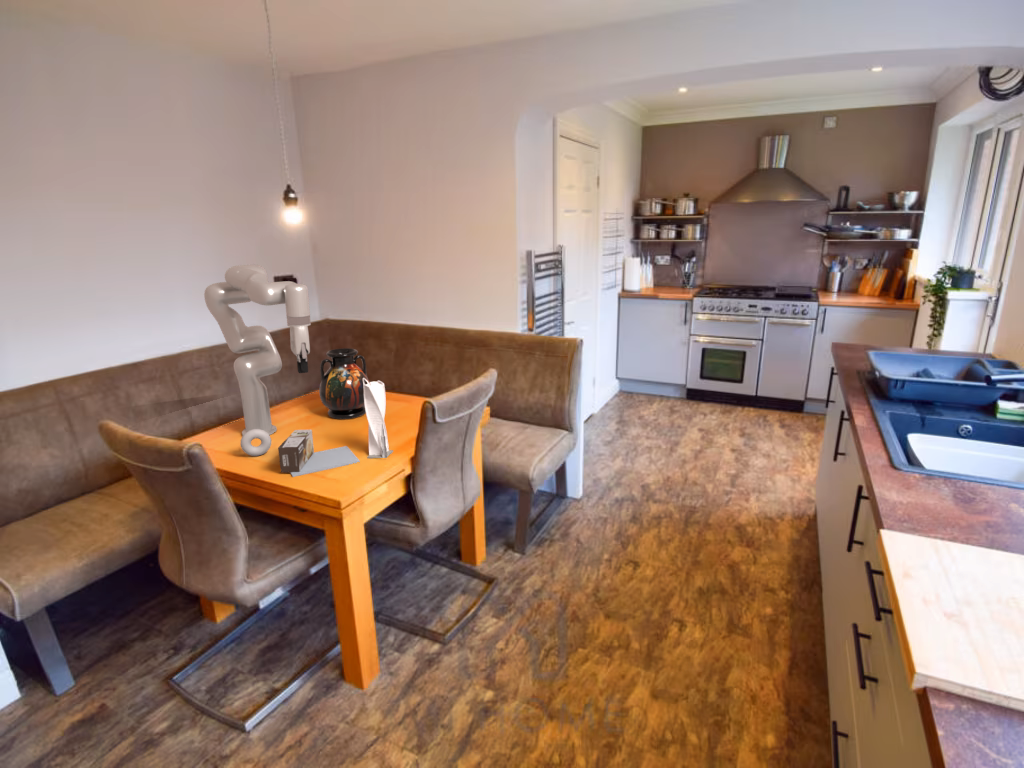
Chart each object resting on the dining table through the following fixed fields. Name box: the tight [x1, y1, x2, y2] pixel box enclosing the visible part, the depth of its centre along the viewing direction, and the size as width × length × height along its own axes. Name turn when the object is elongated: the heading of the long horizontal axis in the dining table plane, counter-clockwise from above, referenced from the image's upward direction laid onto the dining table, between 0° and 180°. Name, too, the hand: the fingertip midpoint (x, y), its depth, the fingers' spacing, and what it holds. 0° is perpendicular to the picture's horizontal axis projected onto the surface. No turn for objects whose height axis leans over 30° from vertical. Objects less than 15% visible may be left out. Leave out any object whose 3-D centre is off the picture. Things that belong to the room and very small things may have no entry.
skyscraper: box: [362, 378, 394, 459], centre depth 195 cm, size 8×8×28 cm
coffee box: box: [277, 429, 315, 473], centre depth 189 cm, size 9×6×16 cm
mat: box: [289, 445, 360, 478], centre depth 192 cm, size 16×22×1 cm
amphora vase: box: [318, 347, 371, 420], centre depth 238 cm, size 22×22×28 cm
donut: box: [240, 429, 272, 457], centre depth 197 cm, size 10×3×10 cm, turn 115°
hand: (303, 372), depth 196 cm, fingers closed
